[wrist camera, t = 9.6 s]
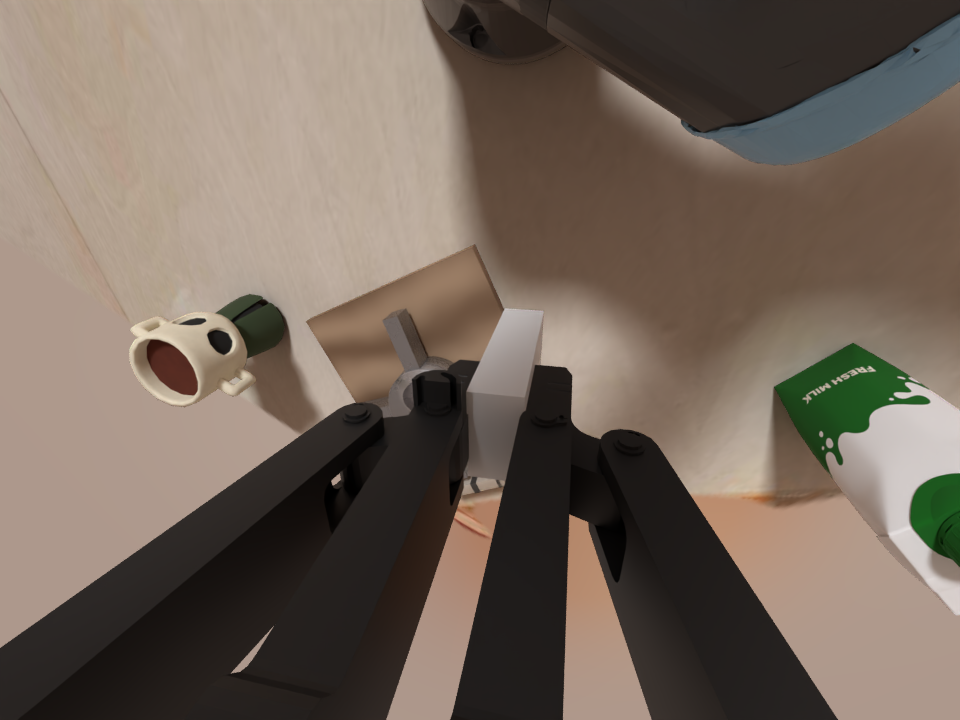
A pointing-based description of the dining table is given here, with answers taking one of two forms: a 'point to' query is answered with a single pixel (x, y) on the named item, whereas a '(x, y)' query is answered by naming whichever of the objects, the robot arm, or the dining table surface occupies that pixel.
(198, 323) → the character mug
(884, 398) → the milk carton
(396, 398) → the four-spoke handwheel
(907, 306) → the dining table surface
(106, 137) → the dining table surface
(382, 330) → the wooden mounting board
